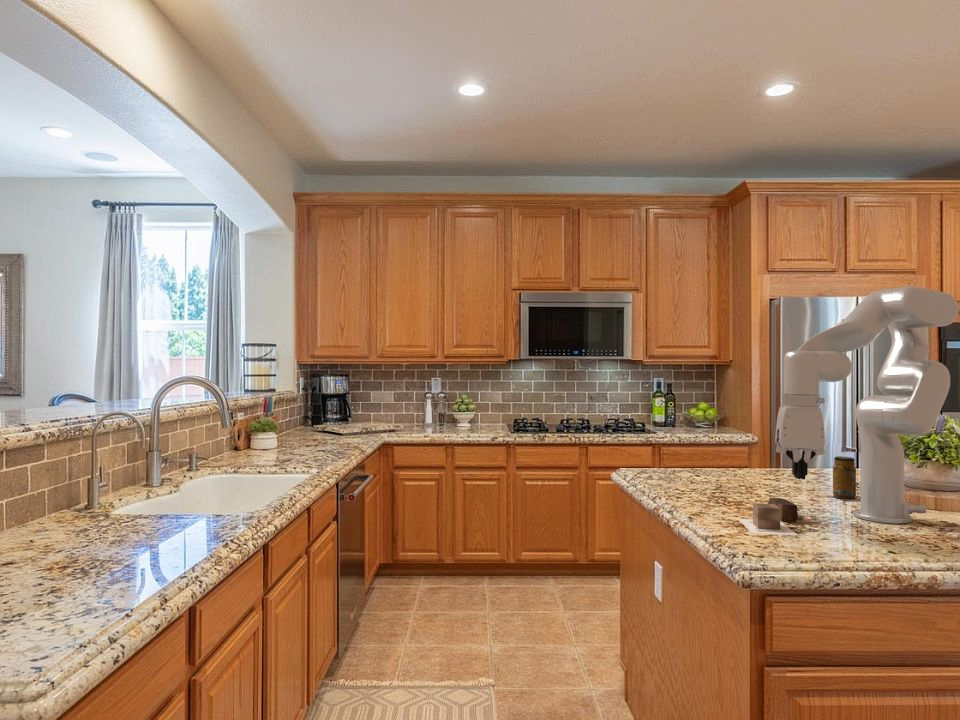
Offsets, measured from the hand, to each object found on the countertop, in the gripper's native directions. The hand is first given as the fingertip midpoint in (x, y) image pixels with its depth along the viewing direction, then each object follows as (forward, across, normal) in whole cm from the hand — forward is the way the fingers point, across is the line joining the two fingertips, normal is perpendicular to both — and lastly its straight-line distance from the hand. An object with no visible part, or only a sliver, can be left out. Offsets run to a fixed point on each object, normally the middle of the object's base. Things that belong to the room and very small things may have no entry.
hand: (799, 478), depth 152 cm
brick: (+12, +1, -11) cm, 17 cm away
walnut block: (+12, +7, 0) cm, 14 cm away
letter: (+12, +7, 0) cm, 14 cm away
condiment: (+12, -26, -42) cm, 50 cm away
